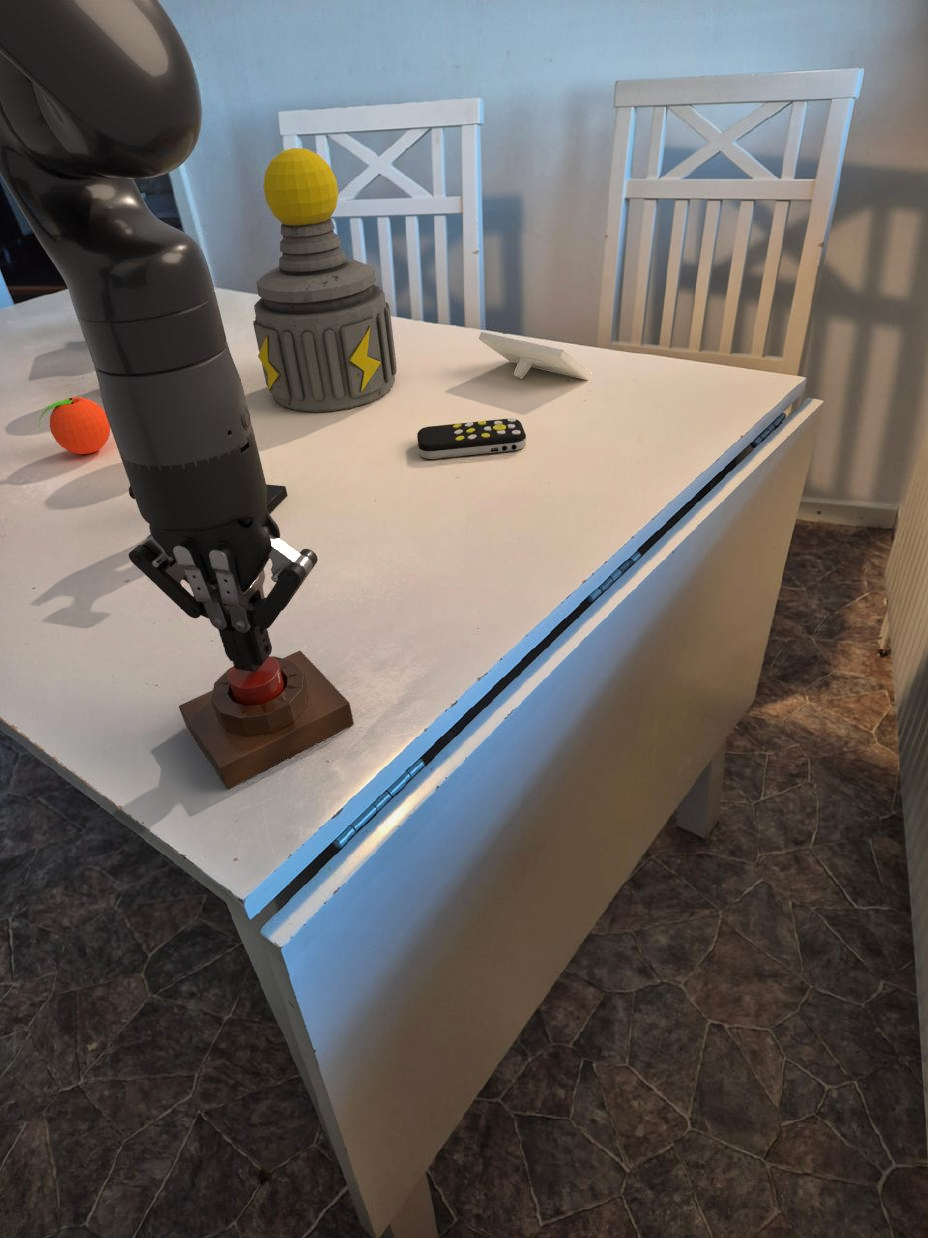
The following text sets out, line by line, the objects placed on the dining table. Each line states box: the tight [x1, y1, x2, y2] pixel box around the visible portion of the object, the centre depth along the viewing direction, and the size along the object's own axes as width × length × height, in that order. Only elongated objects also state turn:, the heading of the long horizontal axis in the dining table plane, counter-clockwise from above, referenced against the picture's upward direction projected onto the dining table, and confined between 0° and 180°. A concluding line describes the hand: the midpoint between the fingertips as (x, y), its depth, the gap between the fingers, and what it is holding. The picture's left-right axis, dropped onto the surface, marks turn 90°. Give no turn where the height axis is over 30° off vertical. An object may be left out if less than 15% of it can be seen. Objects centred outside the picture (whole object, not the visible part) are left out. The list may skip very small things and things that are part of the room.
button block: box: [178, 650, 355, 790], centre depth 59 cm, size 10×8×4 cm
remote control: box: [416, 417, 527, 460], centre depth 97 cm, size 6×13×2 cm, turn 95°
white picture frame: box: [478, 331, 593, 381], centre depth 112 cm, size 8×5×14 cm
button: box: [228, 656, 284, 706], centre depth 58 cm, size 4×4×2 cm
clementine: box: [38, 396, 111, 455], centre depth 101 cm, size 8×7×7 cm
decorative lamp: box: [252, 147, 398, 413], centre depth 107 cm, size 19×19×30 cm
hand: (253, 663), depth 57 cm, fingers closed
